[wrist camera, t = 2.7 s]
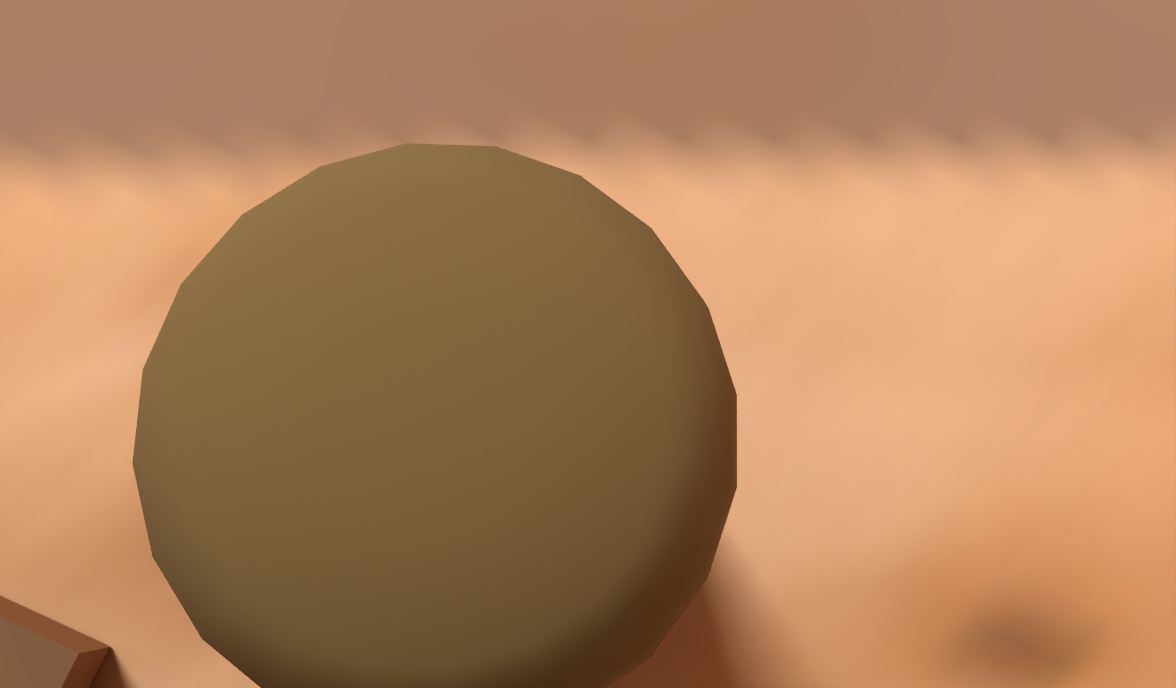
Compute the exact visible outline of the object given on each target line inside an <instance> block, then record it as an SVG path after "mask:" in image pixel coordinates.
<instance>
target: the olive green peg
mask: <svg viewBox="0 0 1176 688" xmlns="http://www.w3.org/2000/svg"><path fill="white" fill-rule="evenodd" d="M133 467H134V472H135V477H136V481H137V486H138V491H139V495H140V500H141V505H142V509H143V514H144V518H145V523H146V528H147V532H148V537H149V542H150V546H151V551H152V556H153V558H154V560H155V561H156V563H157V565H158V566H159V568H160V570H161V571H162V573H163V575H164V576H165V578H166V579H167V581H168V583H169V584H170V586H171V588H172V589H173V591H174V593H175V594H176V596H177V598H178V599H179V601H180V603H181V604H182V606H183V608H184V609H185V611H186V613H187V614H188V616H189V618H190V619H191V621H192V623H193V624H194V626H195V628H196V629H197V631H198V633H199V634H200V636H201V638H202V639H203V640H204V641H205V642H207V643H208V644H209V645H210V646H211V647H213V648H214V649H215V650H216V651H217V652H219V653H220V654H221V655H222V656H223V657H225V658H226V659H227V660H228V661H229V662H231V663H232V664H233V665H234V666H235V667H237V668H238V669H239V670H240V671H241V672H243V673H244V674H245V675H246V676H248V677H249V678H250V679H251V680H252V681H254V682H255V683H256V684H257V685H258V686H260V687H261V688H607V687H608V686H610V685H611V684H613V683H614V682H615V681H617V680H618V679H619V678H621V677H622V676H624V675H625V674H626V673H628V672H629V671H630V670H632V669H633V668H635V667H636V666H637V665H639V664H640V663H642V662H643V661H644V660H646V659H647V658H648V657H650V656H651V655H652V653H653V652H654V651H655V649H656V648H657V647H658V645H659V644H660V642H661V641H662V640H663V638H664V637H665V635H666V634H667V633H668V631H669V630H670V629H671V627H672V626H673V624H674V623H675V622H676V620H677V619H678V618H679V616H680V615H681V613H682V612H683V611H684V609H685V608H686V607H687V605H688V604H689V602H690V601H691V600H692V598H693V597H694V596H695V594H696V593H697V591H698V590H699V589H700V587H701V586H702V584H703V583H704V582H705V580H706V579H707V578H708V575H709V572H710V568H711V565H712V562H713V559H714V556H715V553H716V550H717V547H718V544H719V541H720V538H721V534H722V531H723V528H724V525H725V522H726V519H727V516H728V513H729V510H730V507H731V503H732V500H733V497H734V494H735V491H736V488H737V394H736V391H735V388H734V385H733V382H732V379H731V376H730V373H729V370H728V367H727V364H726V361H725V358H724V354H723V351H722V348H721V345H720V342H719V339H718V336H717V333H716V330H715V327H714V324H713V321H712V318H711V314H710V311H709V309H708V307H707V305H706V304H705V302H704V300H703V299H702V298H701V296H700V295H699V293H698V292H697V291H696V289H695V288H694V287H693V285H692V284H691V282H690V281H689V280H688V278H687V277H686V275H685V274H684V273H683V271H682V270H681V269H680V267H679V266H678V264H677V263H676V262H675V260H674V259H673V257H672V256H671V255H670V253H669V252H668V251H667V249H666V248H665V246H664V245H663V244H662V242H661V241H660V239H659V238H658V237H657V235H656V234H655V233H654V231H653V230H652V228H650V227H649V226H648V225H646V224H645V223H644V222H642V221H641V220H640V219H638V218H637V217H635V216H634V215H633V214H631V213H630V212H629V211H627V210H626V209H625V208H623V207H622V206H621V205H619V204H618V203H617V202H615V201H614V200H612V199H611V198H610V197H608V196H607V195H606V194H604V193H603V192H602V191H600V190H599V189H598V188H596V187H595V186H594V185H592V184H591V183H589V182H588V181H587V180H585V179H584V178H583V177H581V176H580V175H577V174H574V173H571V172H568V171H565V170H563V169H560V168H557V167H554V166H551V165H548V164H545V163H542V162H539V161H537V160H534V159H531V158H528V157H525V156H522V155H519V154H516V153H513V152H510V151H508V150H505V149H502V148H499V147H494V146H464V145H435V144H403V145H400V146H396V147H392V148H388V149H385V150H381V151H377V152H373V153H370V154H366V155H362V156H358V157H355V158H351V159H347V160H343V161H340V162H336V163H332V164H328V165H325V166H321V167H319V168H317V169H315V170H314V171H312V172H311V173H309V174H307V175H306V176H304V177H303V178H301V179H299V180H298V181H296V182H294V183H293V184H291V185H290V186H288V187H286V188H285V189H283V190H281V191H280V192H278V193H277V194H275V195H273V196H272V197H270V198H269V199H267V200H265V201H264V202H262V203H260V204H259V205H257V206H256V207H254V208H252V209H251V210H249V211H247V212H246V213H244V214H243V215H242V216H241V217H240V218H239V219H238V220H237V221H236V222H235V224H234V225H233V226H232V227H231V228H230V229H229V230H228V231H227V233H226V234H225V235H224V236H223V237H222V238H221V239H220V241H219V242H218V243H217V244H216V245H215V246H214V247H213V249H212V250H211V251H210V252H209V253H208V254H207V255H206V256H205V258H204V259H203V260H202V261H201V262H200V263H199V264H198V266H197V267H196V268H195V269H194V270H193V271H192V272H191V274H190V275H189V276H188V277H187V278H186V279H185V280H184V281H183V283H182V284H181V286H180V288H179V290H178V292H177V295H176V297H175V299H174V301H173V303H172V306H171V308H170V310H169V312H168V315H167V317H166V319H165V321H164V324H163V326H162V328H161V330H160V333H159V335H158V337H157V339H156V342H155V344H154V346H153V348H152V350H151V353H150V355H149V357H148V359H147V362H146V364H145V366H144V368H143V374H142V383H141V392H140V401H139V410H138V419H137V428H136V438H135V447H134V456H133Z"/></svg>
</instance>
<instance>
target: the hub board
mask: <svg viewBox="0 0 1176 688" xmlns="http://www.w3.org/2000/svg"><path fill="white" fill-rule="evenodd" d="M109 649H110V646H108V645H106V644H104V643H102V642H99V641H97V640H95V639H93V638H91V637H88V636H86V635H84V634H82V633H80V632H78V631H75V630H73V629H71V628H69V627H67V626H65V625H62V624H60V623H58V622H56V621H54V620H52V619H49V618H47V617H45V616H43V615H41V614H39V613H36V612H34V611H32V610H30V609H28V608H26V607H23V606H21V605H19V604H17V603H15V602H12V601H10V600H8V599H6V598H4V597H2V596H0V688H90V686H91V684H92V682H93V680H94V678H95V676H96V674H97V672H98V670H99V668H100V666H101V664H102V662H103V660H104V658H105V657H106V655H107V653H108V651H109Z"/></svg>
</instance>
